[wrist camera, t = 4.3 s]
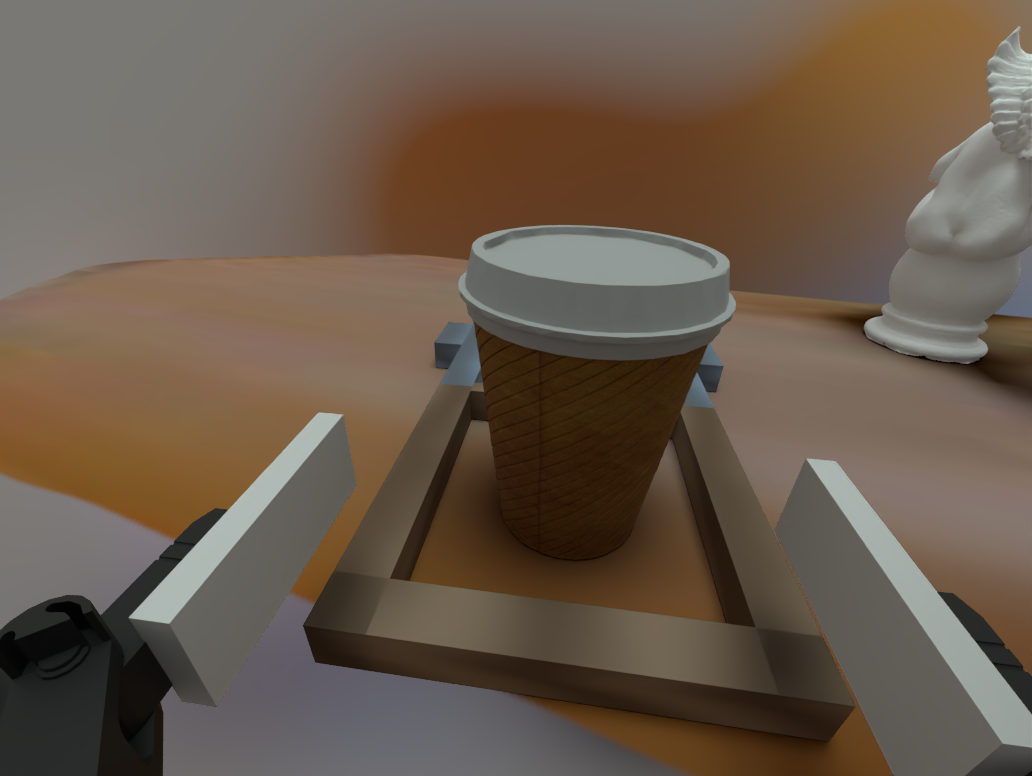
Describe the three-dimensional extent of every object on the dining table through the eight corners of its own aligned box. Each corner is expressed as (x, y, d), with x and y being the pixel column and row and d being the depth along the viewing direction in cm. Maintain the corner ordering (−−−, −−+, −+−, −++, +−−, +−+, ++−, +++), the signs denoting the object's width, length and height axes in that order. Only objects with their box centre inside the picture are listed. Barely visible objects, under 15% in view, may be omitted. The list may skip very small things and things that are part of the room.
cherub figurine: (921, 323, 45) (1063, 51, 34) (1076, 383, 35) (1349, 19, 24) (818, 327, 43) (935, 36, 32) (950, 393, 32) (1191, -7, 22)
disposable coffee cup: (572, 427, 27) (596, 216, 21) (713, 526, 21) (804, 261, 15) (429, 488, 22) (408, 236, 16) (555, 643, 16) (596, 317, 10)
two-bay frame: (687, 336, 40) (693, 315, 39) (901, 753, 13) (934, 718, 12) (465, 319, 42) (464, 299, 41) (258, 653, 15) (242, 616, 14)
